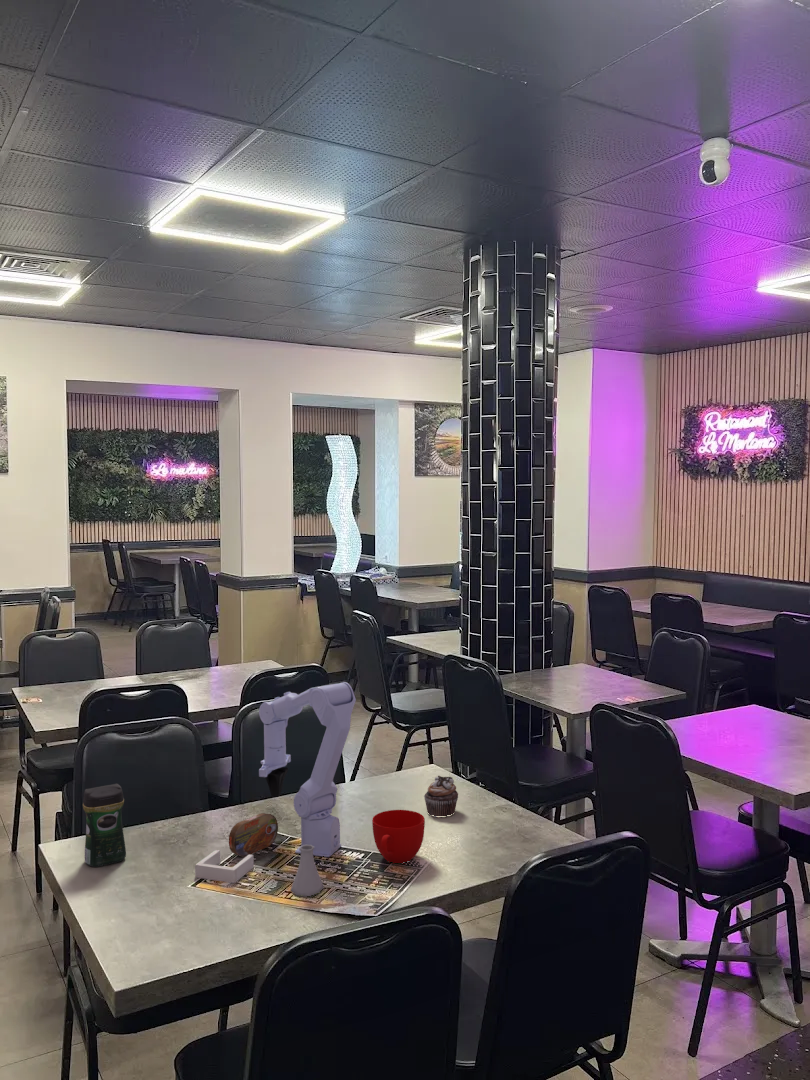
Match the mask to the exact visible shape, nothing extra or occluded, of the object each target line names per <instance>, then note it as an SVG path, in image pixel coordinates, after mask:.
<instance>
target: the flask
mask: <svg viewBox="0 0 810 1080" xmlns="http://www.w3.org/2000/svg"><path fill="white" fill-rule="evenodd" d="M300 846H301V845H300ZM300 846H299V847H300ZM299 847H298V848H299ZM313 849H314V846H312V845H307V844H306V845H302V846H301V847H300V848H299V850H300V851H301V854H300V857H299V858H300V859H299V864H298V867H297V871H296V874H295V877H294V880H293V881H292V885H291V889H290V892H291V891H292V892H293V894H294V893H295V894H294V895H296V896H298V895H303V896H302V897H307V896H310V897H312V896H311V895H313V896H315V895H314V894H316V893H319V892H320V891H321V890H322V889H323V890H324V888H325V886H324V884H323V880H322V878H321V876H320V874H319V871H318V869H317V866H316V863H315V858H314V855H313ZM323 887H324V888H323ZM323 890H322V891H323ZM322 891H321V892H322ZM292 892H291V893H292ZM321 892H320V893H321ZM320 893H319V894H320ZM316 895H317V894H316Z"/></svg>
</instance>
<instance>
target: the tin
mask: <svg viewBox="0 0 810 1080" xmlns="http://www.w3.org/2000/svg"><path fill="white" fill-rule="evenodd" d="M278 831H279V822H278V819H277V818H276V816H274V815H273V814H272V813H263V812H262V813H258V814H255V815H253V816H251V817H249V818H246V819H244V820H241V821H239V822H236V823H235V824H234V826H232V828H231V830H230V831H229V834H228V846H229V850H230V852H231V853H232V854H234V855H236V856H239V857H243V858H245V857H246V856H248V855H254V854H255V853H257V852H259V851H262V850H265V848H268V847H270V846H271V845H272V844H273V843H274V842H275V840H276V838H277V837H278Z"/></svg>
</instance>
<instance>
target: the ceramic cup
mask: <svg viewBox="0 0 810 1080" xmlns="http://www.w3.org/2000/svg"><path fill="white" fill-rule="evenodd" d="M425 819H426V818H425V816H424V815H422V814H421V813H420V812H418V811H417V812H416V811H413V810H408V809H389V810H384V811H382V812H378V813H377V814H375V815H374V816H373V817H372V819H371V820H372V823H371V824H372V833H373V839H374V842H375V846H376V849H377V851H378V853H380V855H382V858H384V860H387V861H386V862H388V861H389V862H388V863H390V862H393V863H392V864H394V863H403V862H407V861H410V860H411V859H412V860H413V859H414V857H416V855H417V854H418V852H419V851H420V850H421V847H422V844H423V841H424V836H425V828H426V827H425V825H426V824H425V823H426V821H425ZM412 860H411V861H412ZM411 861H410V862H411ZM403 864H404V863H403Z"/></svg>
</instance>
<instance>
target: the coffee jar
mask: <svg viewBox="0 0 810 1080" xmlns="http://www.w3.org/2000/svg"><path fill="white" fill-rule="evenodd" d="M82 801H83V802H82V808H83V811H84V813H85V818H86V819H85V821H86V822H85V823H86V824H85V825H86V826H85V827H86V828H85V840H84V841H85V842H84V862H85V864H86V865H87V866H91V867H93V868H95V867H96V868H98V867H103V865H104V866H108V865H112V864H115V863H119V862H122V861H123V860H124V859H126V858H127V857H126V856H127V849H126V841H125V835H124V827H123V818H122V813H123V812H122V811H123V807H124V804H125V798H124V792H123V789H122V786H121V785H120V784H119V783H113V784H107V785H101V786H96V787H91V788H85V789H84V791H83V799H82Z"/></svg>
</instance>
